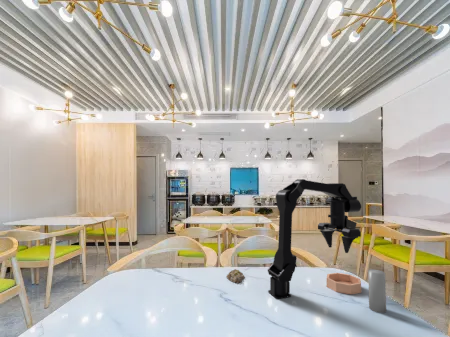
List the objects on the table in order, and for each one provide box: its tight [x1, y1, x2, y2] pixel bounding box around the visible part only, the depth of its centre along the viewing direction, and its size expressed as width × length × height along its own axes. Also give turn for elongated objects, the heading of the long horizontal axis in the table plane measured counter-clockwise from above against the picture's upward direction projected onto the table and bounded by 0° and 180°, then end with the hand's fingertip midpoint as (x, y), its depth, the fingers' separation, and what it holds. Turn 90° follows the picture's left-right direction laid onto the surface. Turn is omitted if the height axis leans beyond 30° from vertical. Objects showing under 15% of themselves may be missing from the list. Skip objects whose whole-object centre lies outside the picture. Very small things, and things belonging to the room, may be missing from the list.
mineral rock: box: [226, 269, 245, 284], centre depth 111 cm, size 11×4×8 cm
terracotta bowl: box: [326, 272, 362, 295], centre depth 103 cm, size 13×13×4 cm
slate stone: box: [367, 268, 387, 314], centre depth 85 cm, size 5×5×12 cm
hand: (338, 250), depth 105 cm, fingers open, 9 cm apart
